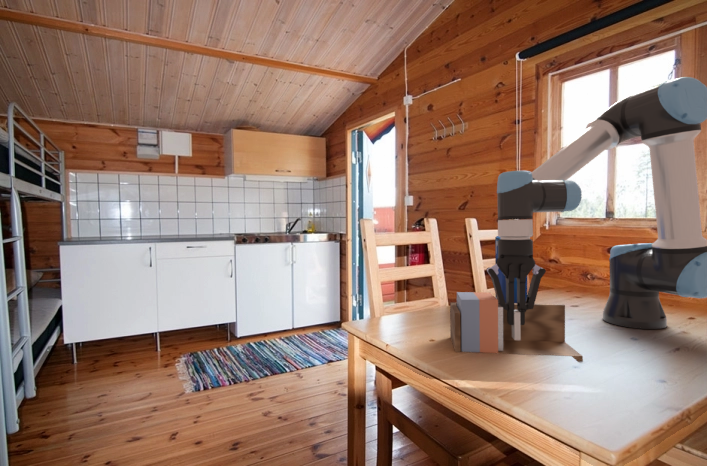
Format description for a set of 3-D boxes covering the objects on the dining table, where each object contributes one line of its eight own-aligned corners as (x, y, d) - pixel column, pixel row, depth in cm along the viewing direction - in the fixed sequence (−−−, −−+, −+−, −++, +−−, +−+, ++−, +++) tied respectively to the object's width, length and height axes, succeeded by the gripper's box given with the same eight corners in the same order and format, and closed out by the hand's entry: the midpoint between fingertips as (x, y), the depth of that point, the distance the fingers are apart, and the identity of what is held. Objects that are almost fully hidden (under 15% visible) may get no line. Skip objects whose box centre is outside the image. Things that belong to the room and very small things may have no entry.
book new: (490, 340, 95) (489, 292, 95) (498, 352, 86) (497, 300, 86) (473, 339, 96) (473, 292, 95) (479, 352, 87) (479, 299, 86)
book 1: (473, 339, 96) (473, 292, 95) (479, 352, 87) (479, 299, 86) (457, 339, 96) (456, 292, 96) (461, 351, 87) (461, 299, 87)
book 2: (530, 318, 118) (530, 238, 118) (506, 317, 120) (505, 238, 119) (515, 303, 140) (515, 235, 139) (495, 302, 141) (494, 235, 140)
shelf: (563, 344, 94) (563, 304, 94) (582, 360, 83) (582, 315, 83) (450, 341, 98) (450, 302, 98) (455, 356, 87) (454, 312, 87)
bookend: (495, 339, 95) (495, 299, 94) (503, 351, 86) (503, 307, 86) (490, 339, 95) (489, 299, 95) (497, 350, 87) (497, 307, 86)
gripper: (539, 237, 92) (539, 334, 92) (483, 237, 94) (484, 333, 94) (550, 238, 84) (550, 344, 85) (489, 239, 86) (490, 342, 87)
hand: (516, 338), depth 90 cm, fingers closed
